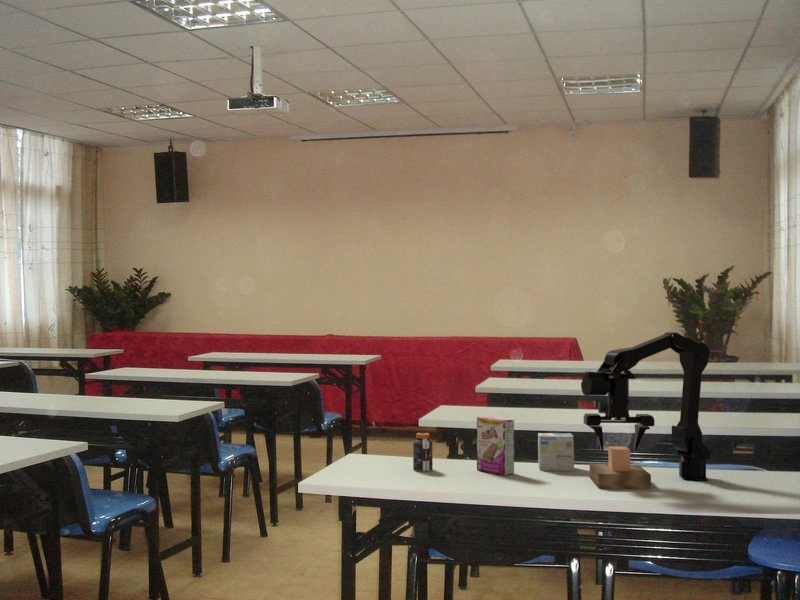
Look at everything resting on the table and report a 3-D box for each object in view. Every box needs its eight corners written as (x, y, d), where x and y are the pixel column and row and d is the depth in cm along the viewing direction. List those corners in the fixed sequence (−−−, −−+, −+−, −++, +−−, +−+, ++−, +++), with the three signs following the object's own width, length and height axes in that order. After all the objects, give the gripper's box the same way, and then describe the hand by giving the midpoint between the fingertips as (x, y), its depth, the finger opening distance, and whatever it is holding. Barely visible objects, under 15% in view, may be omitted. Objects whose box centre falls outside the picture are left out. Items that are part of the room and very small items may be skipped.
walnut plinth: (638, 478, 225) (638, 464, 225) (651, 489, 211) (650, 474, 211) (589, 477, 226) (589, 464, 226) (599, 488, 212) (598, 474, 212)
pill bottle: (433, 472, 235) (433, 434, 235) (413, 472, 235) (413, 434, 235) (432, 468, 241) (431, 431, 241) (412, 468, 241) (412, 431, 241)
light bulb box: (572, 467, 242) (571, 432, 243) (574, 471, 236) (574, 436, 236) (537, 466, 243) (537, 432, 244) (539, 470, 237) (539, 435, 237)
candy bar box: (475, 470, 237) (475, 417, 237) (486, 468, 241) (486, 415, 241) (504, 476, 229) (504, 420, 229) (515, 473, 232) (514, 419, 233)
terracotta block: (626, 467, 221) (626, 446, 221) (630, 471, 216) (630, 449, 216) (608, 467, 221) (608, 446, 221) (612, 471, 216) (612, 449, 216)
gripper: (644, 392, 227) (645, 446, 226) (580, 392, 228) (580, 445, 227) (654, 396, 215) (655, 452, 215) (586, 395, 217) (587, 451, 216)
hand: (618, 450), depth 219 cm, fingers open, 9 cm apart
